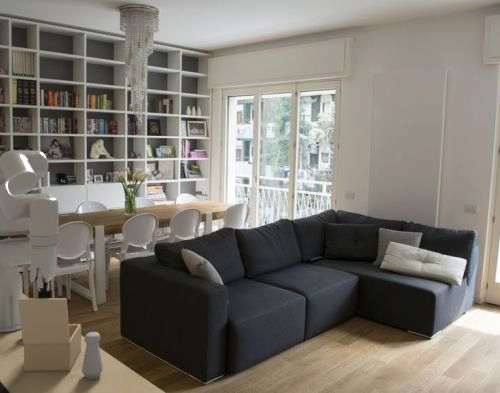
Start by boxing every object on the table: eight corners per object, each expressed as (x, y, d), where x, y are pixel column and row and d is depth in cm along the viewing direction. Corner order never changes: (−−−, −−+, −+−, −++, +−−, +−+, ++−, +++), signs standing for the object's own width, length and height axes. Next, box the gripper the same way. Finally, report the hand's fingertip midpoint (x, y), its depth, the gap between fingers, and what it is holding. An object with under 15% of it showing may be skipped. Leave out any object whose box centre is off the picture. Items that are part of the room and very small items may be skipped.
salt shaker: (96, 382, 139) (96, 339, 137) (78, 379, 140) (77, 336, 138) (106, 372, 144) (106, 331, 143) (88, 370, 146) (88, 328, 144)
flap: (18, 298, 136) (17, 299, 136) (66, 298, 138) (66, 299, 137) (23, 342, 142) (23, 343, 141) (70, 342, 143) (69, 343, 143)
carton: (39, 351, 157) (38, 324, 156) (81, 350, 158) (81, 324, 157) (24, 372, 143) (23, 343, 142) (70, 371, 144) (70, 342, 143)
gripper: (38, 235, 144) (40, 295, 146) (21, 246, 129) (23, 313, 131) (65, 235, 145) (66, 295, 147) (50, 246, 130) (51, 312, 132)
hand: (45, 303), depth 139 cm, fingers closed
